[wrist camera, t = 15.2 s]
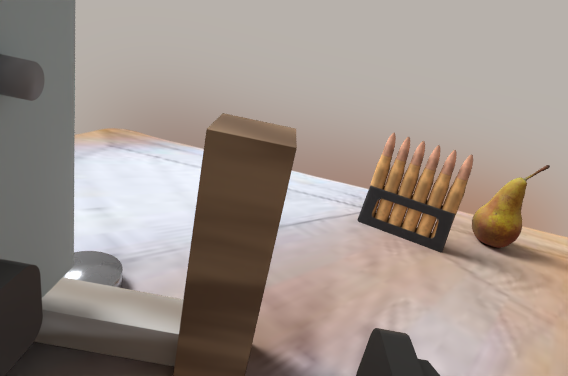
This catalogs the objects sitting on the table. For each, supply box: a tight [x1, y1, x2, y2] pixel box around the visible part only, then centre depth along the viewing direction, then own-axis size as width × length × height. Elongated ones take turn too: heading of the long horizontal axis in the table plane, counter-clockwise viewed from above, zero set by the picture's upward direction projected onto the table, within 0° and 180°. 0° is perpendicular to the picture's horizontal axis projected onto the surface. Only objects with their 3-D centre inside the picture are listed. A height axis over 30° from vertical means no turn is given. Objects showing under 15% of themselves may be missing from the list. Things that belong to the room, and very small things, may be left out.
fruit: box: [472, 165, 550, 248], centre depth 49 cm, size 6×6×12 cm
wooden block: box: [34, 113, 297, 376], centre depth 21 cm, size 4×16×15 cm, turn 89°
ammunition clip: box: [358, 133, 473, 252], centre depth 45 cm, size 11×2×12 cm, turn 65°
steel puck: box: [63, 251, 122, 288], centre depth 27 cm, size 5×5×2 cm
